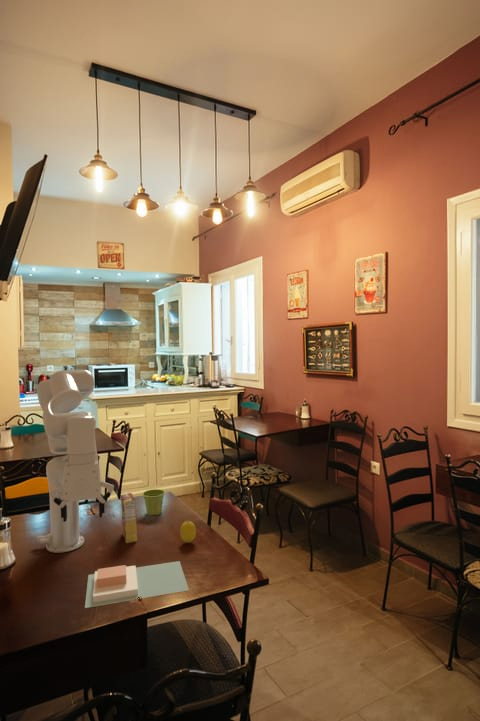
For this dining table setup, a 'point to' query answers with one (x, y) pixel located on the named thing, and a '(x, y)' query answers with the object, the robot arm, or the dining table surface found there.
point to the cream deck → (117, 587)
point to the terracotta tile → (111, 576)
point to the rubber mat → (147, 583)
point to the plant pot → (153, 501)
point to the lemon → (188, 531)
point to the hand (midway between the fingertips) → (83, 517)
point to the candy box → (129, 517)
